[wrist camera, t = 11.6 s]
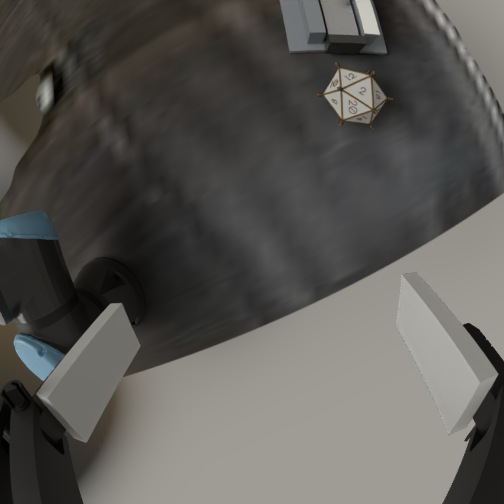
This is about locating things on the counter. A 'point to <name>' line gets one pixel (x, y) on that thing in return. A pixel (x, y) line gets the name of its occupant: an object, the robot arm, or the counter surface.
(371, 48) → the gauge housing
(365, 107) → the game die
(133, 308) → the robot arm
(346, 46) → the block with dark end
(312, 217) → the counter surface
